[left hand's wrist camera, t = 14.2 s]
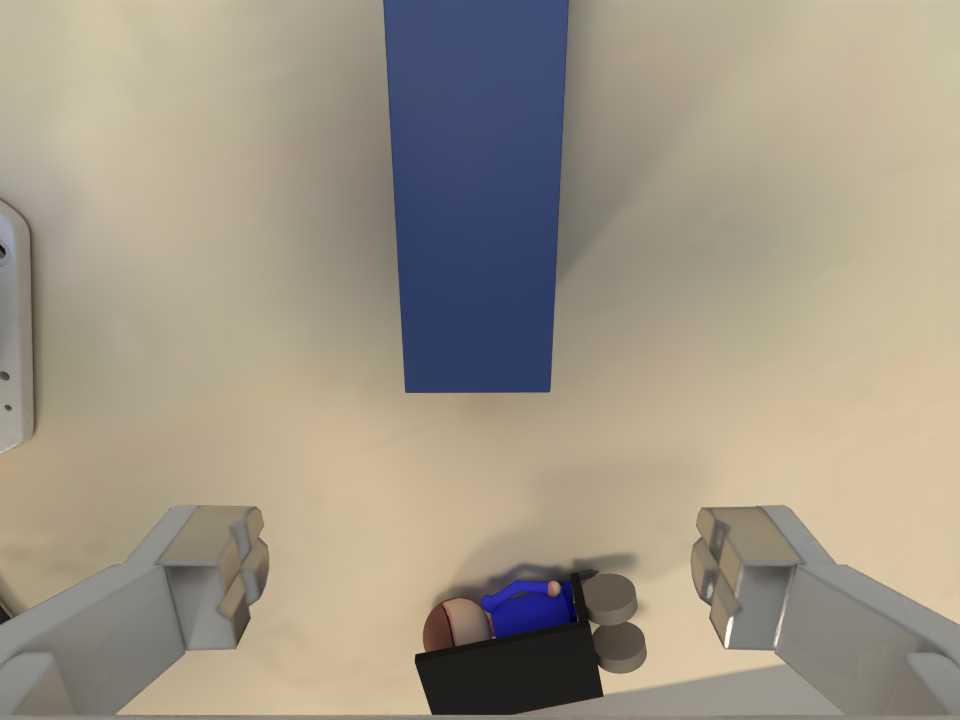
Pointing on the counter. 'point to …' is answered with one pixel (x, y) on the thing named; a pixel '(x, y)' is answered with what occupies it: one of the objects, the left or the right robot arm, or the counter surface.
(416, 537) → the counter surface
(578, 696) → the figurine character
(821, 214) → the counter surface
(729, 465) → the counter surface
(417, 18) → the box
